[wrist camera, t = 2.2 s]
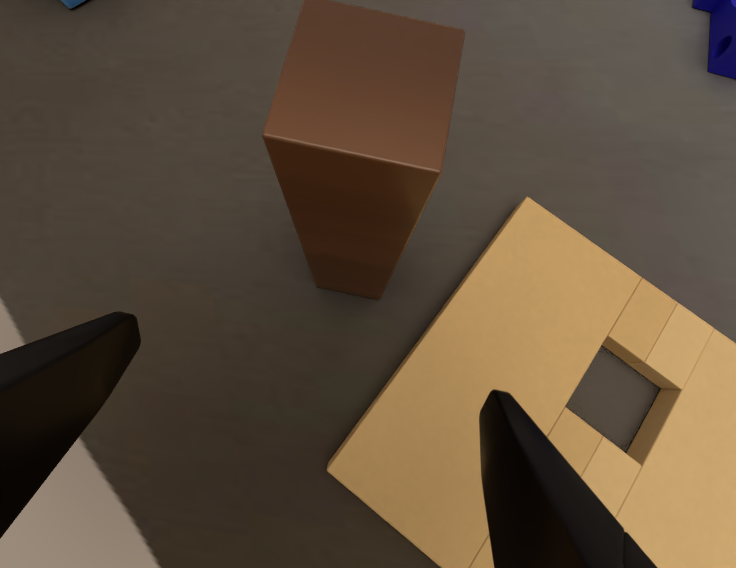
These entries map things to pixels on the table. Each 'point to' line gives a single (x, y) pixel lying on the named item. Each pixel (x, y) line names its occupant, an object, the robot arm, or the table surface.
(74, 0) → the ink box
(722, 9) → the blue cradle bracket
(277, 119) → the peg
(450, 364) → the pad
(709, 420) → the pad
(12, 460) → the robot arm
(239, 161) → the table surface
